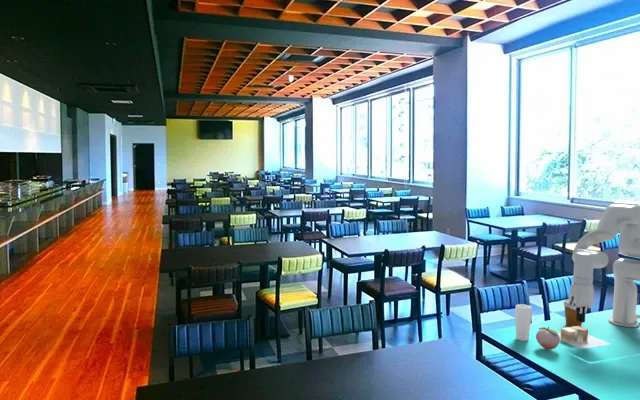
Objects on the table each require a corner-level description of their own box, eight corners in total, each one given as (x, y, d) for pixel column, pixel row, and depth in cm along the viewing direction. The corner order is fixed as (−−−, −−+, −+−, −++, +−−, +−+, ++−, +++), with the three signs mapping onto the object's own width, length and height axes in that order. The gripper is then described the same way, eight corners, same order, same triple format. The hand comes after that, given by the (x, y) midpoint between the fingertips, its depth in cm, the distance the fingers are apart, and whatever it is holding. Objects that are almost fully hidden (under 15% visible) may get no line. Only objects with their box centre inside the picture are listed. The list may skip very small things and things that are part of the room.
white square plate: (577, 331, 233) (577, 330, 233) (611, 345, 216) (611, 344, 216) (548, 335, 228) (548, 334, 227) (580, 350, 211) (580, 349, 211)
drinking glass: (532, 339, 223) (534, 306, 222) (527, 343, 218) (528, 309, 217) (517, 335, 228) (519, 303, 226) (511, 339, 223) (512, 306, 221)
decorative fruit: (564, 351, 210) (565, 327, 209) (552, 355, 205) (554, 331, 204) (543, 344, 217) (544, 321, 216) (531, 348, 213) (532, 325, 212)
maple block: (578, 325, 224) (561, 328, 221) (588, 329, 220) (570, 332, 216) (578, 336, 225) (560, 339, 222) (587, 340, 220) (569, 343, 217)
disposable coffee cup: (588, 330, 235) (590, 305, 234) (568, 329, 235) (569, 304, 234) (578, 323, 244) (579, 299, 243) (558, 323, 245) (559, 298, 243)
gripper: (588, 277, 225) (586, 317, 227) (562, 279, 220) (560, 320, 222) (603, 281, 218) (600, 322, 220) (576, 284, 213) (574, 326, 215)
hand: (580, 321), depth 221 cm, fingers closed
